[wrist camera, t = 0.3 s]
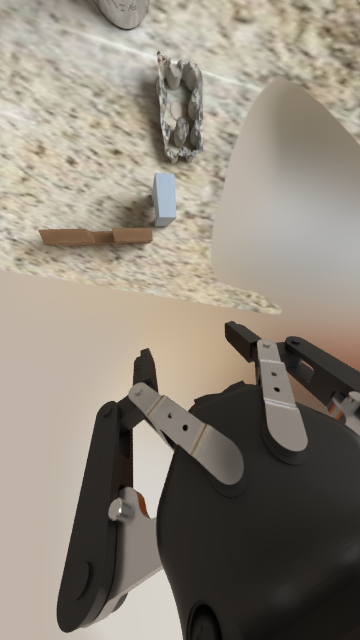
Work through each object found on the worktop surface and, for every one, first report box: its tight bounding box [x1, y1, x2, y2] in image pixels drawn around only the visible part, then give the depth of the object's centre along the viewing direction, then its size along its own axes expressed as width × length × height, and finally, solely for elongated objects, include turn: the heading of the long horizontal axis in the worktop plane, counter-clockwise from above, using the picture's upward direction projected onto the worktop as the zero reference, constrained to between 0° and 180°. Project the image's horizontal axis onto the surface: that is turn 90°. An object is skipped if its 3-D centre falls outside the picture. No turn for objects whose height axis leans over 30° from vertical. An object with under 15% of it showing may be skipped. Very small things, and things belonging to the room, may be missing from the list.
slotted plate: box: [39, 228, 153, 246], centre depth 27 cm, size 2×18×7 cm, turn 93°
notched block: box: [151, 173, 176, 226], centre depth 26 cm, size 6×3×9 cm, turn 3°
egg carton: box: [156, 51, 203, 164], centre depth 24 cm, size 11×8×4 cm
